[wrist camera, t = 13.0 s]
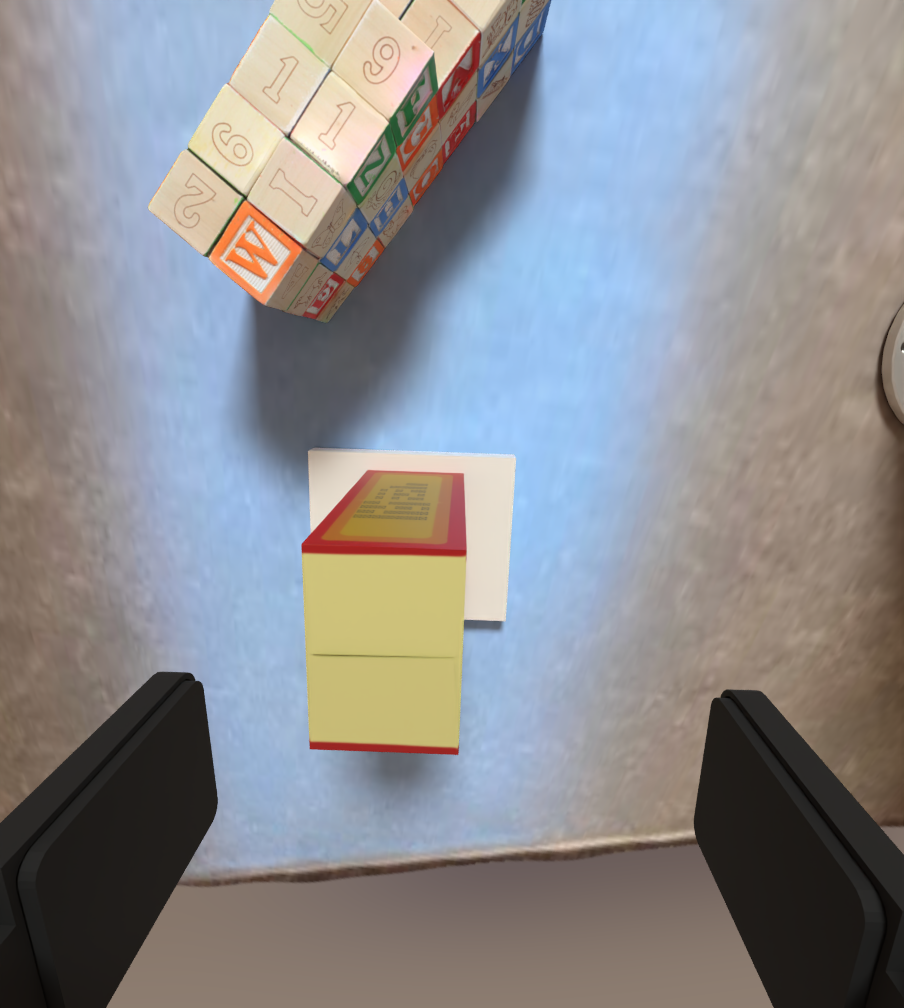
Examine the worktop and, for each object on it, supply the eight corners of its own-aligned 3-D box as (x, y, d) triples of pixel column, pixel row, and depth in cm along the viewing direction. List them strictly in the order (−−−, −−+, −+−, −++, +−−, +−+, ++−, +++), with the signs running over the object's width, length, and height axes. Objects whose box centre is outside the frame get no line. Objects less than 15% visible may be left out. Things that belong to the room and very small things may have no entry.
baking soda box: (367, 469, 36) (298, 547, 21) (463, 473, 36) (466, 553, 21) (368, 599, 39) (307, 755, 23) (458, 602, 38) (458, 760, 23)
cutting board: (513, 454, 37) (516, 458, 36) (503, 612, 40) (505, 621, 39) (313, 447, 37) (308, 450, 36) (318, 605, 40) (313, 614, 39)
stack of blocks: (463, -51, 30) (466, -321, 18) (545, 33, 31) (598, -174, 19) (250, 262, 35) (140, 207, 23) (327, 327, 36) (261, 307, 24)
